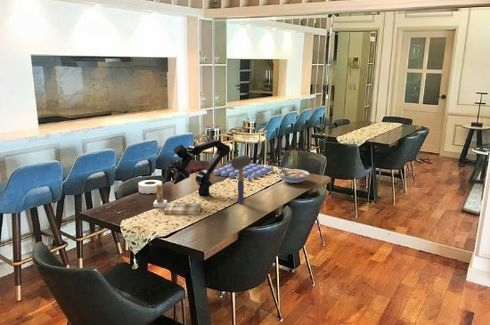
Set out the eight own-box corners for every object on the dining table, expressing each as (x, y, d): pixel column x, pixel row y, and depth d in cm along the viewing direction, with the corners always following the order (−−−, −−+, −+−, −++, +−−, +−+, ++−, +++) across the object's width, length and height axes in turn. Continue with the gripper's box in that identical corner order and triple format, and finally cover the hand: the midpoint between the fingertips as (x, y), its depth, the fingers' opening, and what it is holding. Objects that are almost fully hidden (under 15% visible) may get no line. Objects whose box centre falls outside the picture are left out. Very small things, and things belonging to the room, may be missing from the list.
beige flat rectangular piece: (201, 207, 241) (200, 203, 240) (199, 214, 229) (198, 210, 228) (167, 207, 240) (167, 203, 240) (164, 214, 229) (163, 210, 228)
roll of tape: (152, 185, 284) (152, 178, 283) (166, 190, 275) (166, 182, 273) (133, 190, 272) (133, 183, 271) (148, 195, 263) (147, 187, 261)
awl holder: (167, 203, 247) (167, 199, 246) (165, 207, 240) (164, 203, 239) (155, 203, 246) (155, 199, 246) (153, 207, 240) (153, 203, 239)
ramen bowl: (311, 187, 282) (311, 176, 280) (278, 187, 282) (279, 176, 280) (306, 178, 306) (307, 167, 304) (276, 177, 306) (277, 167, 305)
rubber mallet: (240, 206, 242) (240, 158, 235) (230, 204, 246) (229, 157, 239) (251, 201, 252) (251, 154, 245) (241, 199, 256) (241, 153, 249)
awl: (164, 204, 245) (163, 183, 242) (163, 206, 241) (162, 185, 238) (157, 204, 245) (156, 183, 242) (156, 206, 241) (155, 185, 238)
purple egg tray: (272, 172, 323) (272, 166, 322) (250, 182, 295) (250, 176, 294) (236, 167, 341) (236, 161, 340) (212, 175, 313) (212, 169, 312)
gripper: (168, 152, 251) (153, 172, 247) (185, 157, 238) (169, 178, 233) (179, 162, 258) (165, 182, 254) (196, 167, 245) (181, 188, 240)
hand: (170, 182), depth 245 cm, fingers open, 9 cm apart
